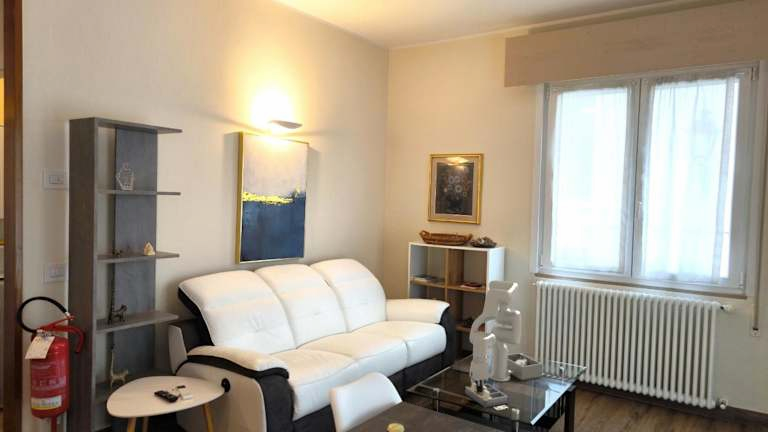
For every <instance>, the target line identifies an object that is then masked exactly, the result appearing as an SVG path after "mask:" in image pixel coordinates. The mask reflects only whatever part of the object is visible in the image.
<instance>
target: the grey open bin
mask: <svg viewBox="0 0 768 432" xmlns="http://www.w3.org/2000/svg"><path fill="white" fill-rule="evenodd" d="M521 353H522V352H517V353H508V370H510V371H512V370H514V374H511V375H512V376H514V377H516V378H518V379H519V380H521V381H525V380H530V379H535V378H536V379H537V378H542V377H543V363H542V362H540V361H538V360H536V359H533V358H532V357H529V356H528V355H525V354H524V353H523V354H522V356H523V357H524V358H527V360H528V366H521V365H519V364H517V363H515V362H516V361H517V360H518V358H519V357H521V356H520V354H521Z"/></svg>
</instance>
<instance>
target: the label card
mask: <svg viewBox="0 0 768 432" xmlns="http://www.w3.org/2000/svg"><path fill="white" fill-rule="evenodd" d="M506 408H507V409H509V407H508V406H507V405H505V404H501V405H496V406H493V409H495V410H496V411H503V410H506Z"/></svg>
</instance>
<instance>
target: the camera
mask: <svg viewBox="0 0 768 432" xmlns="http://www.w3.org/2000/svg"><path fill="white" fill-rule="evenodd" d="M520 353H521V354H520V356H521V357H519V358H518V360H517V361H516V362H515V363H517V364H519V365H521V366H528V360H527V358H524V357H523V356H522V354H524V353H523V352H520Z"/></svg>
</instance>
